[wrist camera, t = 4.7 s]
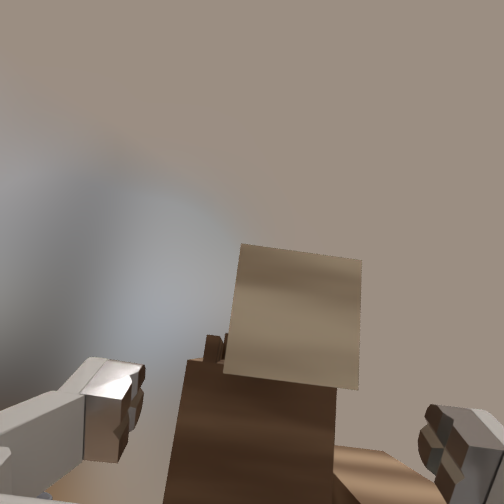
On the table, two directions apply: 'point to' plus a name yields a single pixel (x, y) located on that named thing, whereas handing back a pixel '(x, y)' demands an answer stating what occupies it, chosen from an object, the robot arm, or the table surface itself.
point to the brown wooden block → (250, 438)
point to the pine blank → (295, 318)
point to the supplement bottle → (44, 496)
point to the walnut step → (378, 480)
